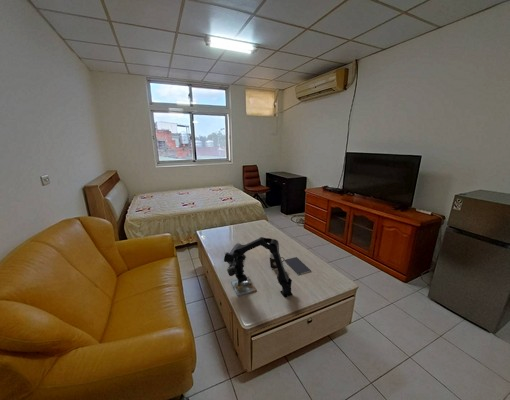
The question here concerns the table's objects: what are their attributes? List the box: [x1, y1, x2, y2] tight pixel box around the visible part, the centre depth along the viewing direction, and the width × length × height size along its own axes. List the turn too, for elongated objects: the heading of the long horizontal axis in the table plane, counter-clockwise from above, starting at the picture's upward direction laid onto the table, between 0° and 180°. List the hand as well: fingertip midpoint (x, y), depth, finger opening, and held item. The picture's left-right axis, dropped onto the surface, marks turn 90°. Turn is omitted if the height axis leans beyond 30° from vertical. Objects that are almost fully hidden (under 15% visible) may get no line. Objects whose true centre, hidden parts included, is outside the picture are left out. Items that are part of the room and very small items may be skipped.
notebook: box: [283, 256, 312, 276], centre depth 179 cm, size 13×2×21 cm
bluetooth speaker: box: [227, 242, 242, 266], centre depth 188 cm, size 23×9×10 cm, turn 168°
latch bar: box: [238, 278, 252, 286], centre depth 155 cm, size 10×3×3 cm, turn 107°
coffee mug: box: [268, 253, 285, 270], centre depth 176 cm, size 12×9×10 cm
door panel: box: [230, 276, 258, 298], centre depth 154 cm, size 16×14×4 cm
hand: (239, 282), depth 156 cm, fingers closed
